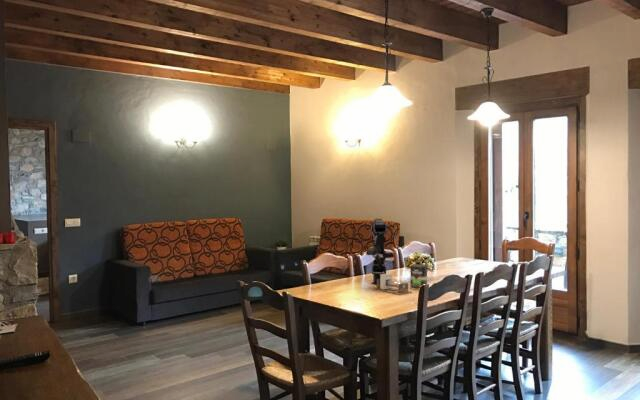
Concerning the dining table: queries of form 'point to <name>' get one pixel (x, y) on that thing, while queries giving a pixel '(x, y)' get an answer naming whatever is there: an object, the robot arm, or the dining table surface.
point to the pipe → (394, 284)
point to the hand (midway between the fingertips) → (379, 267)
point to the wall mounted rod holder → (390, 290)
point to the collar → (383, 280)
